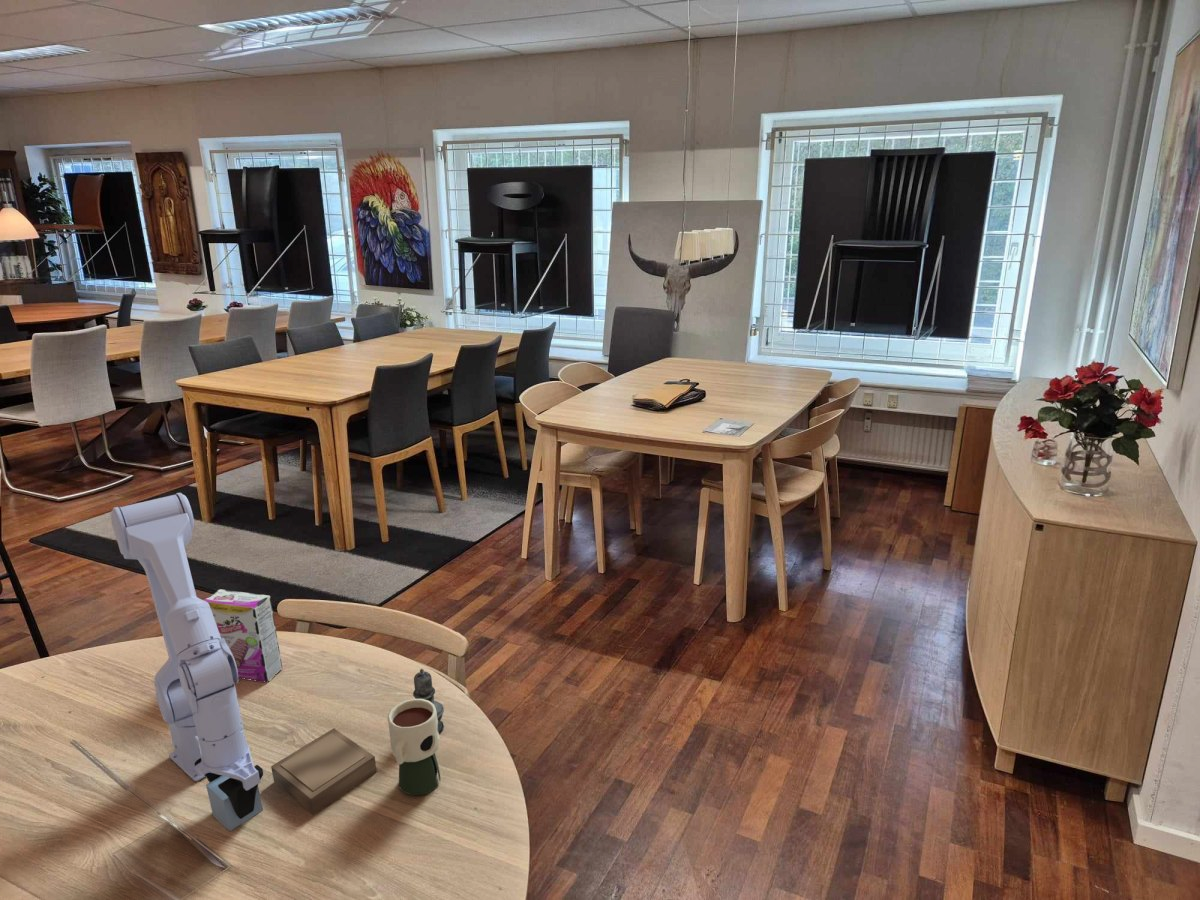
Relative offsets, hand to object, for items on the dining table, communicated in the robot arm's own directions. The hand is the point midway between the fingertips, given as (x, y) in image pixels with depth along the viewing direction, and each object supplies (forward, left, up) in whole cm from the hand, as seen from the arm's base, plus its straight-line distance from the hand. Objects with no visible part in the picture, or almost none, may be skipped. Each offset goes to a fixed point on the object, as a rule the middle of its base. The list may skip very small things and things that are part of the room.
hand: (236, 804), depth 110 cm
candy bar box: (-32, +19, -2) cm, 37 cm away
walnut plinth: (+4, +12, -1) cm, 13 cm away
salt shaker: (+8, +29, -2) cm, 30 cm away
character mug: (+17, +20, -2) cm, 26 cm away
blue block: (0, 0, -1) cm, 1 cm away
